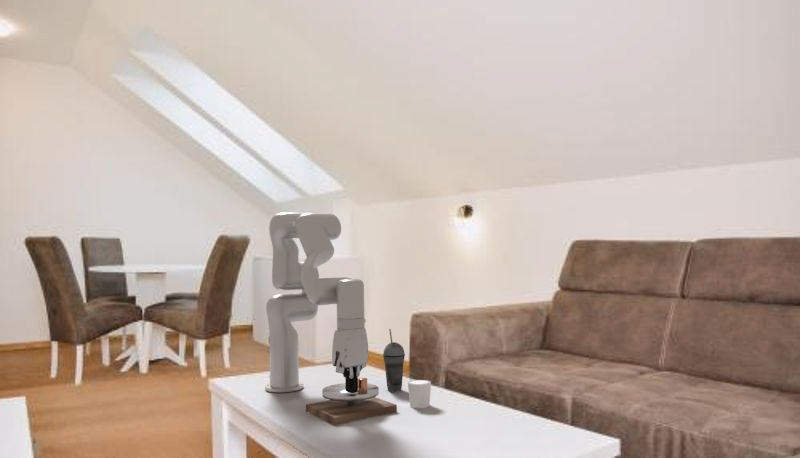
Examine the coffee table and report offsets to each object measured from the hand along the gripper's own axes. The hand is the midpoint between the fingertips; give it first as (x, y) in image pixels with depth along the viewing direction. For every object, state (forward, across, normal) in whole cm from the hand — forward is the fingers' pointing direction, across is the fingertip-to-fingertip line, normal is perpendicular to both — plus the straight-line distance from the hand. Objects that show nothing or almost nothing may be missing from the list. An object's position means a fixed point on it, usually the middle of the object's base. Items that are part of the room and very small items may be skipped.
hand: (351, 391), depth 157 cm
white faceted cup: (+8, -22, +6) cm, 24 cm away
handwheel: (+2, -5, -6) cm, 8 cm away
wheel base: (+7, -5, -6) cm, 11 cm away
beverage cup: (+8, -31, -12) cm, 34 cm away
